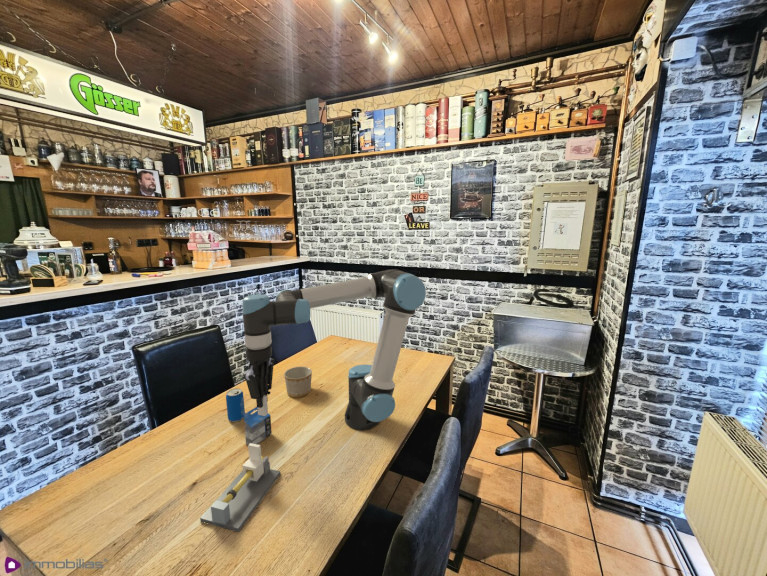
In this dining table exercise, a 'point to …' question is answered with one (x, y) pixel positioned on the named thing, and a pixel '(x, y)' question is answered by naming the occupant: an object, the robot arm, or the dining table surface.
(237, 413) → the beverage can
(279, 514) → the dining table surface
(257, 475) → the white slider carriage
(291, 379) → the planter
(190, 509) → the dining table surface
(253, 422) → the label tape cartridge
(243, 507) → the linear slide rail
